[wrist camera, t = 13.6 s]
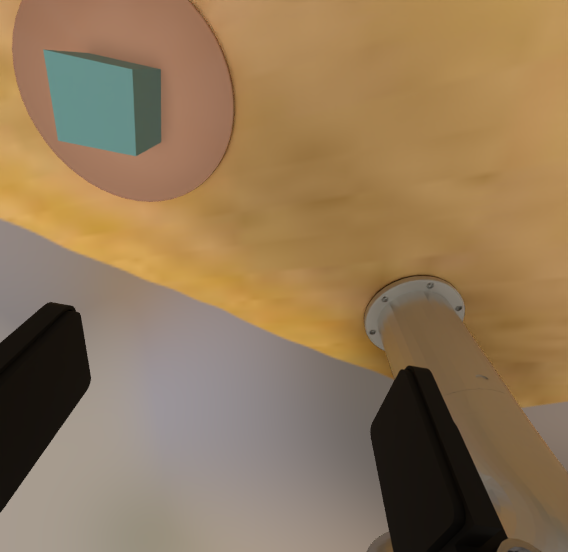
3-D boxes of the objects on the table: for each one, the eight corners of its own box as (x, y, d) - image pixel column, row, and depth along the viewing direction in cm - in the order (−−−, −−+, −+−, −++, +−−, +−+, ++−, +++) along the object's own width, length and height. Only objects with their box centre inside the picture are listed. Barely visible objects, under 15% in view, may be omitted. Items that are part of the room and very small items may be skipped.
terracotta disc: (275, 76, 29) (274, 77, 28) (175, 230, 37) (172, 234, 36) (62, -115, 23) (51, -123, 22) (-1, 118, 31) (-11, 119, 30)
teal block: (160, 69, 28) (132, 69, 23) (161, 142, 31) (136, 156, 26) (88, 52, 28) (43, 49, 22) (96, 128, 31) (58, 140, 26)
